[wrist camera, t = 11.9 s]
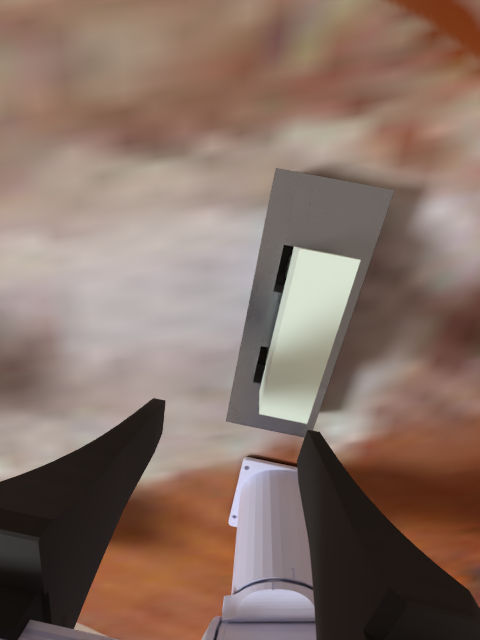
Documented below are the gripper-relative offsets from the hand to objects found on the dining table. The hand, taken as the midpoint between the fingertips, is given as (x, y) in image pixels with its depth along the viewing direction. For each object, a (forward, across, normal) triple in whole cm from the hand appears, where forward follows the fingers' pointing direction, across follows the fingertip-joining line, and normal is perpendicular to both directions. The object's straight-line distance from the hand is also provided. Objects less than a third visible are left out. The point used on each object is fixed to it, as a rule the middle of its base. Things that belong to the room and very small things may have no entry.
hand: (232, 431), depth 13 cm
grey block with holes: (+9, -3, -4) cm, 11 cm away
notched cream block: (+9, -3, -4) cm, 11 cm away
